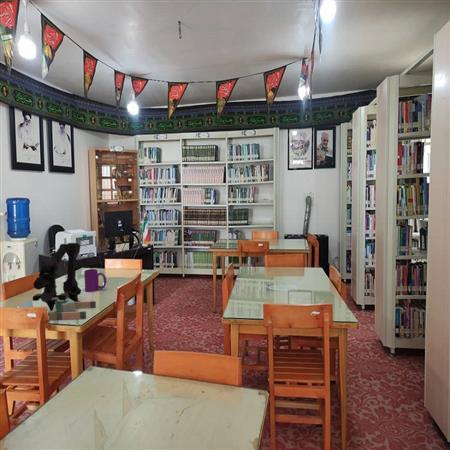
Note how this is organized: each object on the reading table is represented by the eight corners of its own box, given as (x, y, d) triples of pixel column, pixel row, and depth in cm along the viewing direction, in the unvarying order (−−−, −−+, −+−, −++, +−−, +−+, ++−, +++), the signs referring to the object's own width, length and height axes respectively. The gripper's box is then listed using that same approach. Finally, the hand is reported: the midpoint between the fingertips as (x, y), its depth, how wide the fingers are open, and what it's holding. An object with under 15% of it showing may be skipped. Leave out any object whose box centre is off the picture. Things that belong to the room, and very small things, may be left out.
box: (69, 308, 219) (68, 297, 218) (76, 314, 209) (75, 302, 208) (56, 311, 214) (55, 299, 213) (63, 317, 204) (62, 304, 203)
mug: (88, 288, 264) (87, 269, 263) (108, 288, 264) (107, 268, 263) (83, 292, 255) (82, 271, 254) (104, 292, 255) (103, 271, 254)
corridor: (56, 308, 219) (55, 302, 219) (95, 307, 221) (95, 301, 220) (42, 320, 199) (41, 313, 199) (85, 318, 201) (85, 312, 201)
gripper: (27, 289, 199) (28, 316, 200) (61, 288, 200) (62, 315, 201) (36, 284, 210) (37, 309, 211) (68, 283, 211) (69, 308, 212)
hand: (51, 311), depth 209 cm, fingers closed
